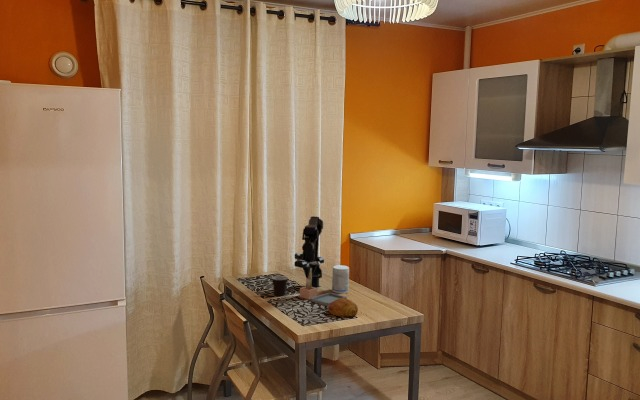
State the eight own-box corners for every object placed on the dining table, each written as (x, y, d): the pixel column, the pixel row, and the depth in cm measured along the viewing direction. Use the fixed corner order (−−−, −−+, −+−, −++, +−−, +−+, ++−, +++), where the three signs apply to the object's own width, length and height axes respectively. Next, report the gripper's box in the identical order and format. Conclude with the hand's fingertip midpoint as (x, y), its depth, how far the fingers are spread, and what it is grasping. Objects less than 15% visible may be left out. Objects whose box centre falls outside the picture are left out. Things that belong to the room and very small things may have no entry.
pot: (307, 295, 286) (308, 285, 285) (317, 297, 281) (317, 288, 281) (299, 297, 280) (300, 288, 280) (308, 300, 276) (309, 290, 275)
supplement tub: (331, 289, 299) (332, 264, 298) (347, 289, 299) (348, 265, 297) (332, 294, 289) (332, 268, 288) (348, 294, 289) (349, 269, 288)
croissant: (346, 310, 268) (346, 295, 268) (362, 316, 254) (362, 299, 254) (322, 313, 261) (322, 297, 262) (337, 318, 248) (337, 302, 248)
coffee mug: (284, 298, 279) (285, 280, 277) (269, 297, 280) (270, 279, 279) (290, 292, 290) (290, 275, 289) (275, 291, 292) (276, 274, 290)
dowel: (308, 286, 282) (309, 267, 281) (312, 287, 280) (313, 268, 279) (304, 287, 280) (305, 268, 279) (308, 288, 278) (309, 269, 277)
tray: (329, 296, 285) (329, 292, 285) (346, 300, 278) (346, 296, 277) (310, 302, 273) (310, 298, 273) (327, 307, 265) (327, 303, 265)
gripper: (310, 245, 290) (309, 271, 292) (287, 249, 276) (286, 277, 277) (325, 248, 283) (324, 275, 284) (302, 252, 269) (301, 281, 270)
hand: (309, 277), depth 279 cm, fingers closed on dowel, 3 cm apart
